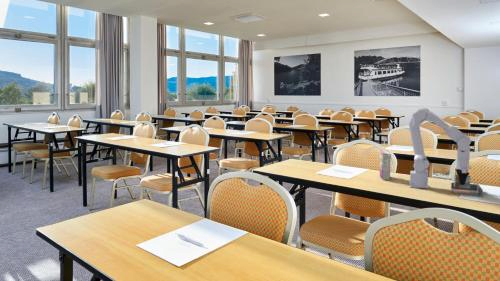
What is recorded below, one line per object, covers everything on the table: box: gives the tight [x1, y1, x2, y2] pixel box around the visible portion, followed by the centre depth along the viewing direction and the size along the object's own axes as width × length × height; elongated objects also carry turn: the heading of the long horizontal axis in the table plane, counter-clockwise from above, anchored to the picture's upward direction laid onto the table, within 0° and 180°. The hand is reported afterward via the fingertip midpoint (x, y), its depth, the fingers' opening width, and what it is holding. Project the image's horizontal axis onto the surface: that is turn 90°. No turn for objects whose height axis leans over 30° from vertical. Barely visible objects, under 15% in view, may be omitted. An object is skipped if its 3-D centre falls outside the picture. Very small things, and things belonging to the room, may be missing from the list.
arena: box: [450, 181, 484, 197], centre depth 199 cm, size 13×12×3 cm
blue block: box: [453, 174, 471, 189], centre depth 199 cm, size 4×7×6 cm, turn 67°
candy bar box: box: [379, 150, 392, 181], centre depth 232 cm, size 11×5×16 cm, turn 168°
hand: (461, 183), depth 199 cm, fingers closed on blue block, 4 cm apart
